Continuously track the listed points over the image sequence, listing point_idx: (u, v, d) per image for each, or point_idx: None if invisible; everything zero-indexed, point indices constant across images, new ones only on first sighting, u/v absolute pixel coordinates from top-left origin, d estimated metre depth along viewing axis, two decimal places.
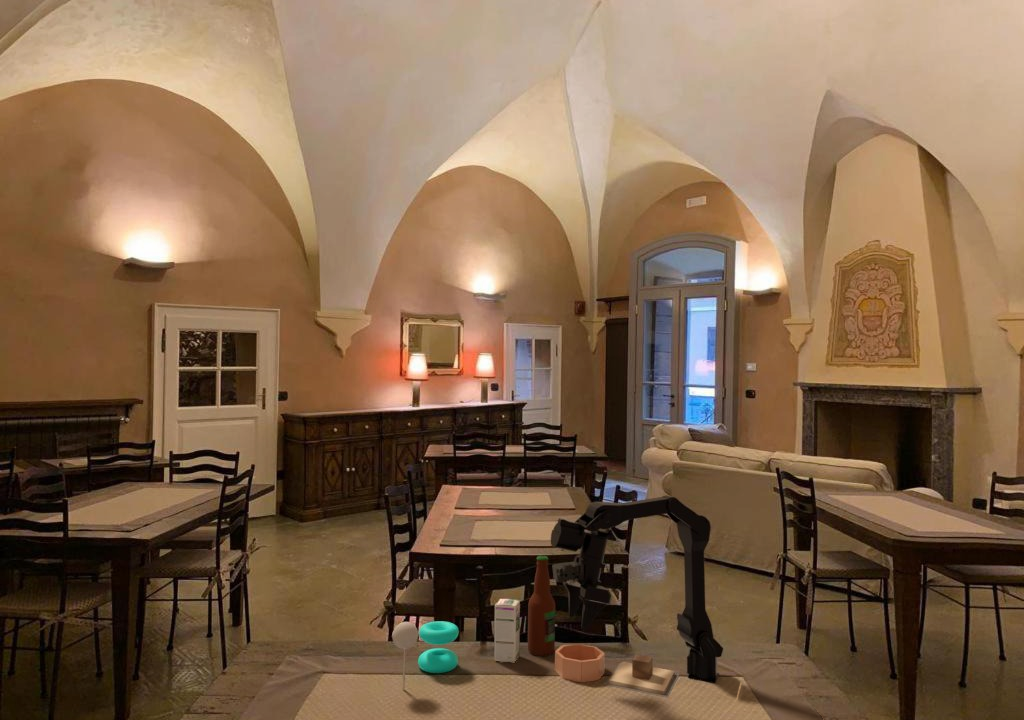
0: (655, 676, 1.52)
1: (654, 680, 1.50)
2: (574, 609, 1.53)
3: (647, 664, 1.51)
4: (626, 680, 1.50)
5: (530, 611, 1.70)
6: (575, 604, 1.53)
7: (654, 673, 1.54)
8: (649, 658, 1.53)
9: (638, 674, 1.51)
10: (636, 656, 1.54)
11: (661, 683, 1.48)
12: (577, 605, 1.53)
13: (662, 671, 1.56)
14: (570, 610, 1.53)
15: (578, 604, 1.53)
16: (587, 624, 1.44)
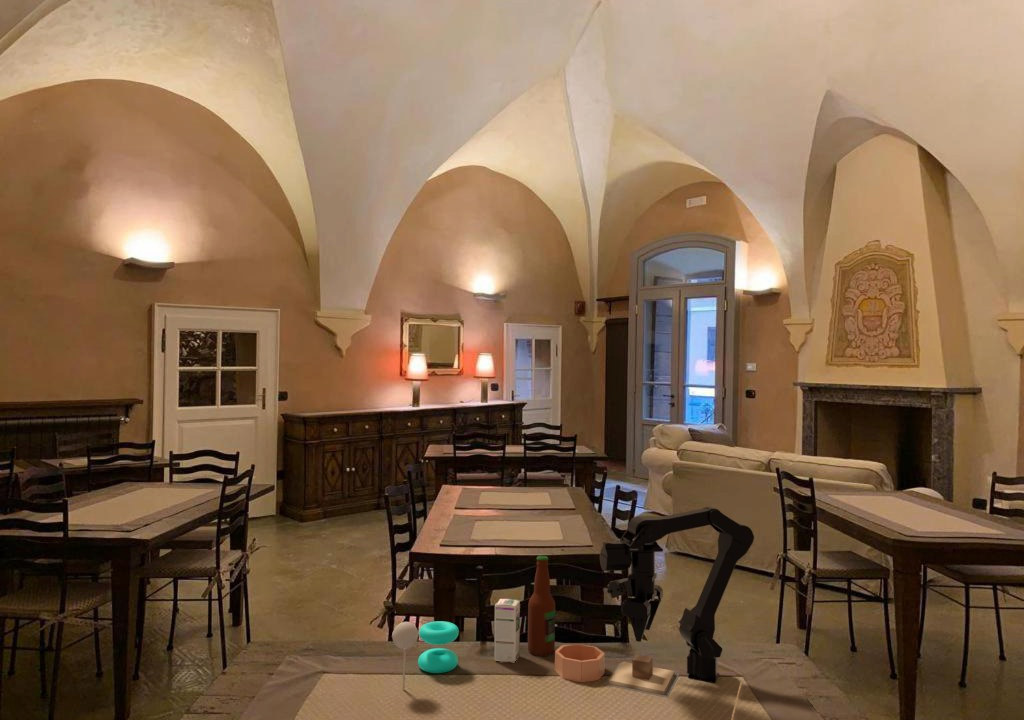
0: (655, 676, 1.52)
1: (654, 680, 1.50)
2: (648, 622, 1.58)
3: (647, 664, 1.51)
4: (626, 680, 1.50)
5: (530, 611, 1.70)
6: (648, 618, 1.58)
7: (654, 673, 1.54)
8: (649, 658, 1.53)
9: (638, 674, 1.51)
10: (636, 656, 1.54)
11: (661, 683, 1.48)
12: (651, 618, 1.58)
13: (662, 671, 1.56)
14: None
15: (652, 617, 1.58)
16: (640, 637, 1.49)
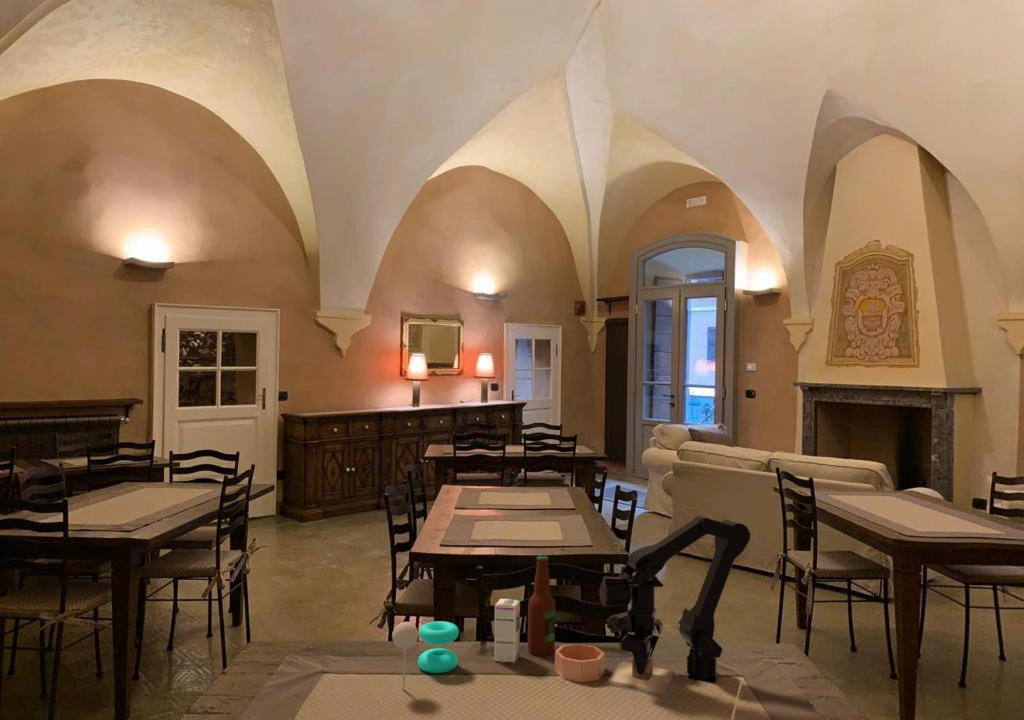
0: (655, 676, 1.52)
1: (654, 680, 1.50)
2: None
3: (647, 664, 1.51)
4: (626, 680, 1.50)
5: (530, 611, 1.70)
6: None
7: (654, 673, 1.54)
8: (649, 658, 1.53)
9: (638, 674, 1.51)
10: None
11: (661, 683, 1.48)
12: (648, 657, 1.55)
13: (662, 671, 1.56)
14: None
15: (649, 656, 1.55)
16: (642, 670, 1.50)
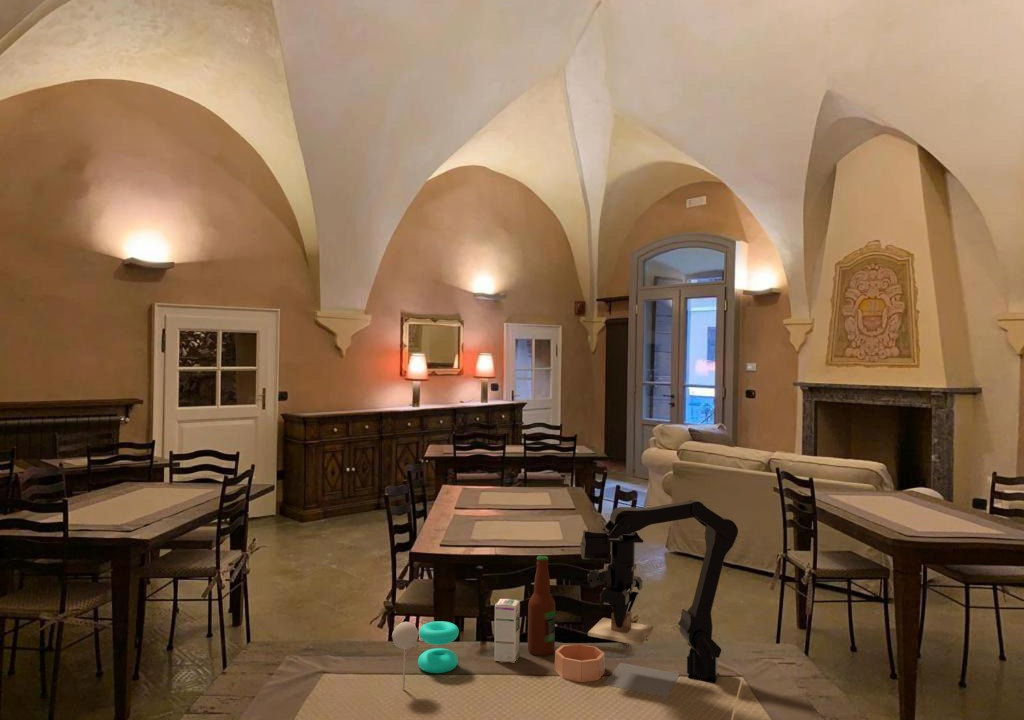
0: (634, 630, 1.54)
1: (632, 633, 1.52)
2: None
3: (626, 617, 1.53)
4: (605, 632, 1.52)
5: (530, 611, 1.70)
6: None
7: (633, 627, 1.56)
8: (628, 612, 1.55)
9: (617, 627, 1.53)
10: None
11: (639, 635, 1.50)
12: None
13: (641, 626, 1.58)
14: None
15: (628, 610, 1.57)
16: (620, 623, 1.52)
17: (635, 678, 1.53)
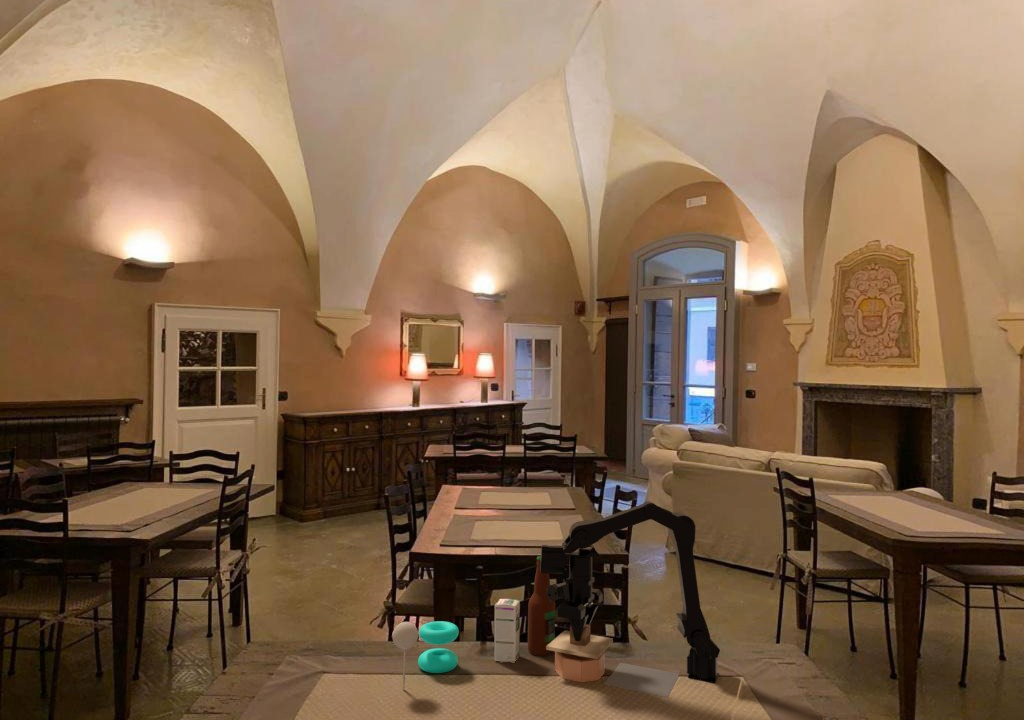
0: (592, 643, 1.57)
1: (590, 646, 1.54)
2: None
3: (584, 631, 1.55)
4: (563, 646, 1.54)
5: (530, 611, 1.70)
6: None
7: (592, 640, 1.58)
8: (587, 625, 1.57)
9: (575, 641, 1.55)
10: None
11: (596, 649, 1.53)
12: None
13: (600, 638, 1.60)
14: None
15: (587, 623, 1.59)
16: (578, 637, 1.55)
17: (635, 678, 1.53)
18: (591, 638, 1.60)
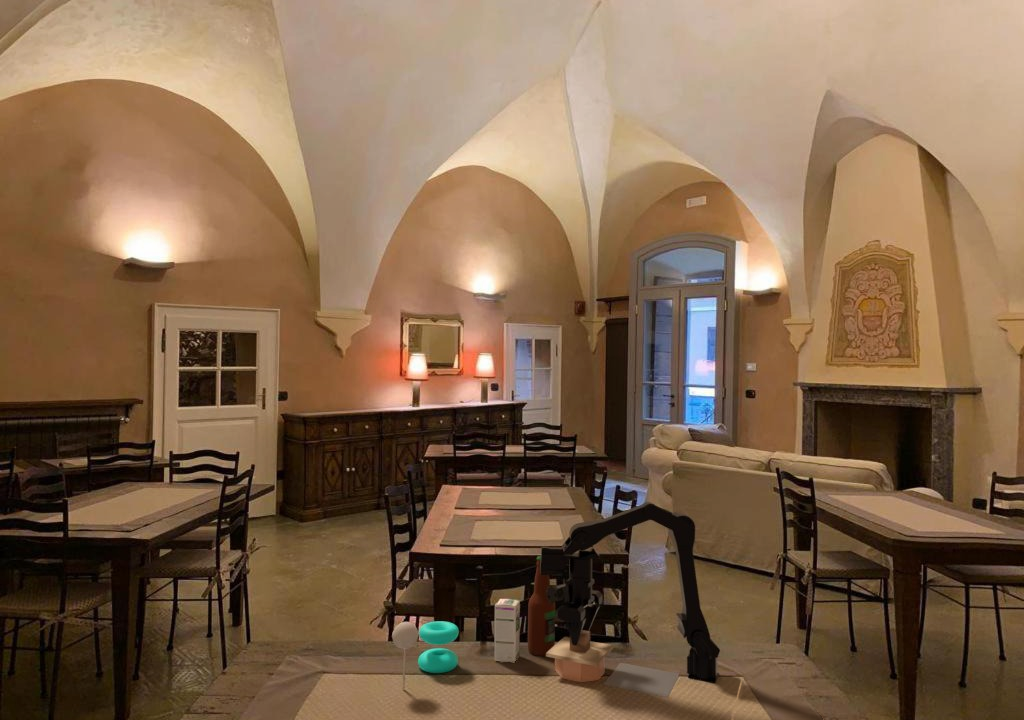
0: (592, 649, 1.56)
1: (590, 653, 1.54)
2: (586, 628, 1.61)
3: (583, 637, 1.55)
4: (563, 653, 1.54)
5: (530, 611, 1.70)
6: (586, 623, 1.61)
7: (592, 647, 1.58)
8: (586, 632, 1.57)
9: (575, 647, 1.55)
10: None
11: (596, 656, 1.52)
12: (588, 624, 1.60)
13: (600, 645, 1.60)
14: (583, 629, 1.61)
15: (589, 623, 1.60)
16: (576, 641, 1.53)
17: (635, 678, 1.53)
18: (591, 645, 1.60)
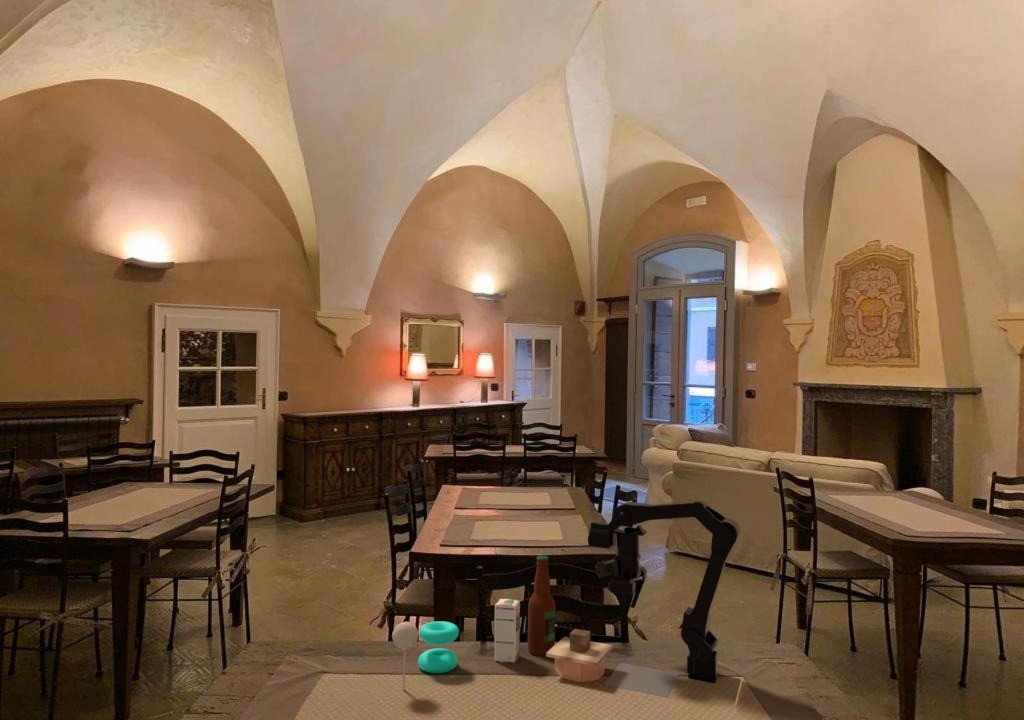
0: (592, 649, 1.56)
1: (590, 653, 1.54)
2: (633, 601, 1.69)
3: (583, 637, 1.55)
4: (563, 653, 1.54)
5: (530, 611, 1.70)
6: (634, 596, 1.69)
7: (592, 647, 1.58)
8: (586, 632, 1.57)
9: (575, 647, 1.55)
10: (574, 630, 1.58)
11: (596, 656, 1.52)
12: (636, 597, 1.69)
13: (600, 645, 1.60)
14: None
15: (636, 596, 1.69)
16: (626, 613, 1.60)
17: (635, 678, 1.53)
18: (591, 645, 1.60)
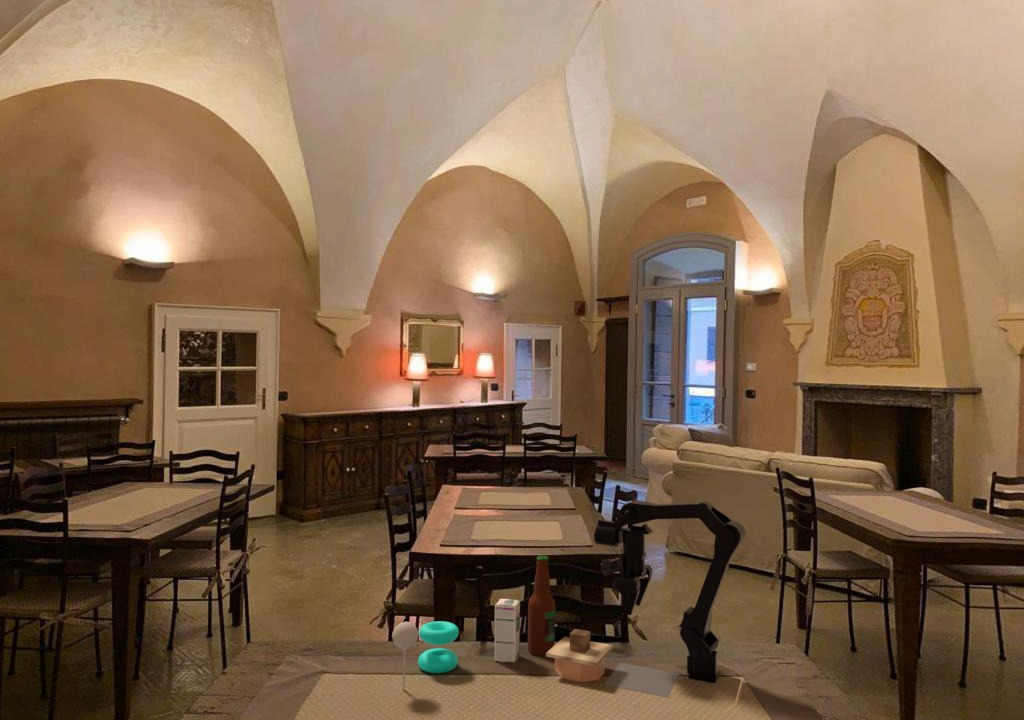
0: (592, 649, 1.56)
1: (590, 653, 1.54)
2: (638, 599, 1.70)
3: (583, 637, 1.55)
4: (563, 653, 1.54)
5: (530, 611, 1.70)
6: (639, 594, 1.70)
7: (592, 647, 1.58)
8: (586, 632, 1.57)
9: (575, 647, 1.55)
10: (574, 630, 1.58)
11: (596, 656, 1.52)
12: (641, 595, 1.70)
13: (600, 645, 1.60)
14: (636, 600, 1.70)
15: (642, 594, 1.70)
16: (630, 611, 1.61)
17: (635, 678, 1.53)
18: (591, 645, 1.60)
